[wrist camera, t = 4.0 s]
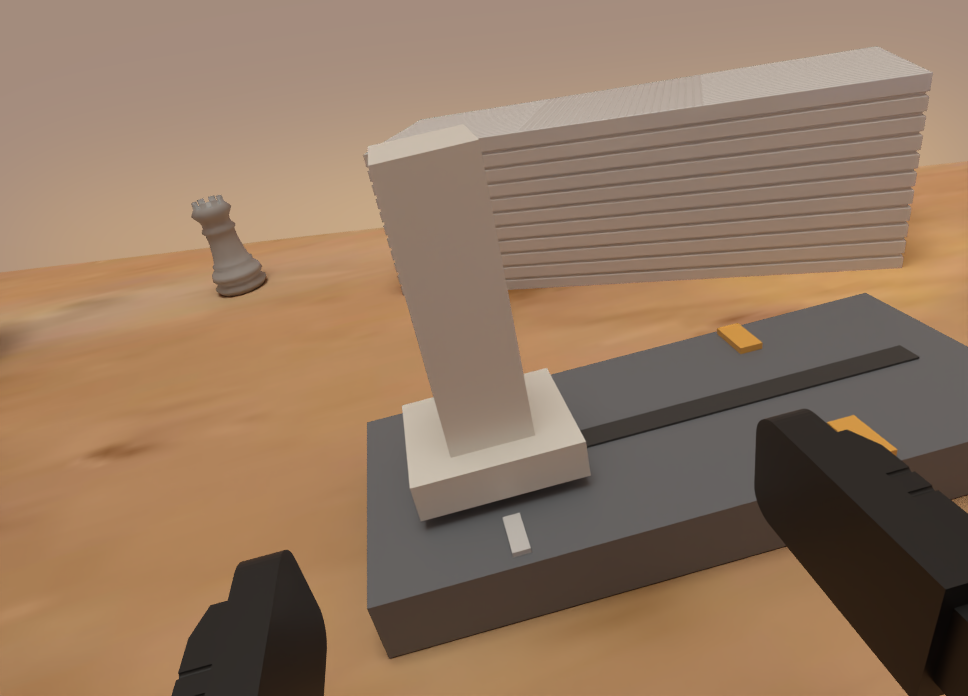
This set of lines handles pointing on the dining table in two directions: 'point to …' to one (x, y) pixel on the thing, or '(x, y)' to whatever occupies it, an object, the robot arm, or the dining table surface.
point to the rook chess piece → (227, 249)
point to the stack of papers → (706, 173)
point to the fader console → (660, 468)
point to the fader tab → (466, 335)
